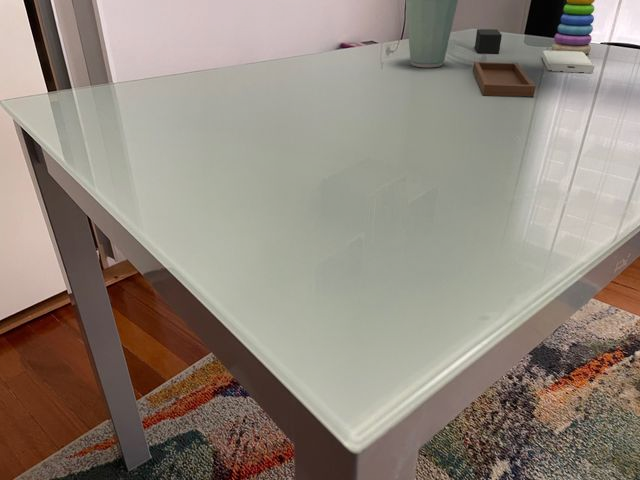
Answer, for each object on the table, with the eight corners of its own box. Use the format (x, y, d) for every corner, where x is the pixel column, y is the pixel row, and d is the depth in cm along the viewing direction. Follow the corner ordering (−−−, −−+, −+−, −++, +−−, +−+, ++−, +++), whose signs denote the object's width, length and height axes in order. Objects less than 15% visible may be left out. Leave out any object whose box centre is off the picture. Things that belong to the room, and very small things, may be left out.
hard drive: (542, 49, 111) (549, 62, 101) (584, 51, 110) (595, 64, 99) (541, 58, 112) (547, 71, 102) (582, 59, 110) (592, 73, 100)
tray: (515, 72, 101) (517, 63, 100) (533, 97, 86) (535, 86, 85) (472, 71, 102) (474, 61, 101) (482, 95, 87) (484, 84, 86)
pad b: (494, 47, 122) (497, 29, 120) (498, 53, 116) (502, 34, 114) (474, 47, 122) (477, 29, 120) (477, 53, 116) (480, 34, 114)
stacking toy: (594, 52, 117) (618, -44, 107) (581, 57, 112) (605, -42, 102) (559, 47, 121) (579, -45, 112) (544, 52, 116) (564, -43, 107)
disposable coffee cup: (441, 73, 101) (450, -14, 93) (390, 66, 106) (395, -16, 98) (459, 62, 109) (469, -19, 101) (411, 56, 113) (417, -21, 106)
